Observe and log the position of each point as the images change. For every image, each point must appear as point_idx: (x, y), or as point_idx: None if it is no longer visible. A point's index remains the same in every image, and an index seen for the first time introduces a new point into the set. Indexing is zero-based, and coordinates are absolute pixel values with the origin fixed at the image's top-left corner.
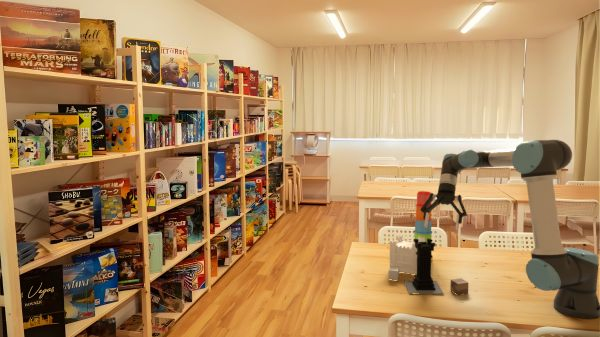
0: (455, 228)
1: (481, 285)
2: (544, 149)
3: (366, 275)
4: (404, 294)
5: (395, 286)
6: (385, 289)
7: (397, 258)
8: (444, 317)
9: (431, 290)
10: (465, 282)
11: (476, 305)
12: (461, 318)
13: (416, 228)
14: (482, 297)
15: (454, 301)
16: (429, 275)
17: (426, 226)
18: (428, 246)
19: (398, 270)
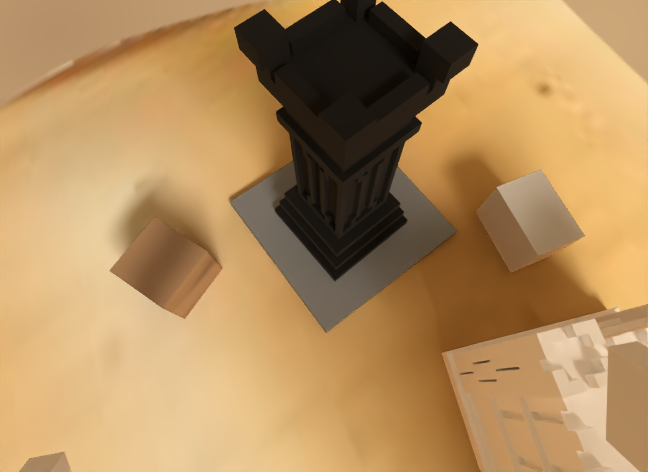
0: (56, 460)
1: (98, 450)
2: None
3: (639, 189)
4: None
5: (448, 159)
6: (459, 109)
7: (623, 322)
8: (162, 38)
9: None
10: (123, 259)
11: (79, 189)
12: (109, 63)
13: None
14: (68, 286)
15: (170, 171)
16: (305, 185)
17: (612, 398)
18: (292, 27)
19: (511, 219)
